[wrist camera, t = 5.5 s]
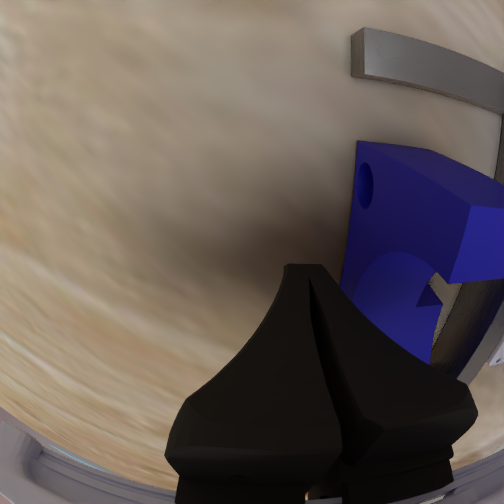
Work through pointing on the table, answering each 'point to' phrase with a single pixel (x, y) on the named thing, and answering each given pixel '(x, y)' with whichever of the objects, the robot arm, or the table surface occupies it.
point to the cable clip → (417, 237)
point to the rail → (499, 101)
